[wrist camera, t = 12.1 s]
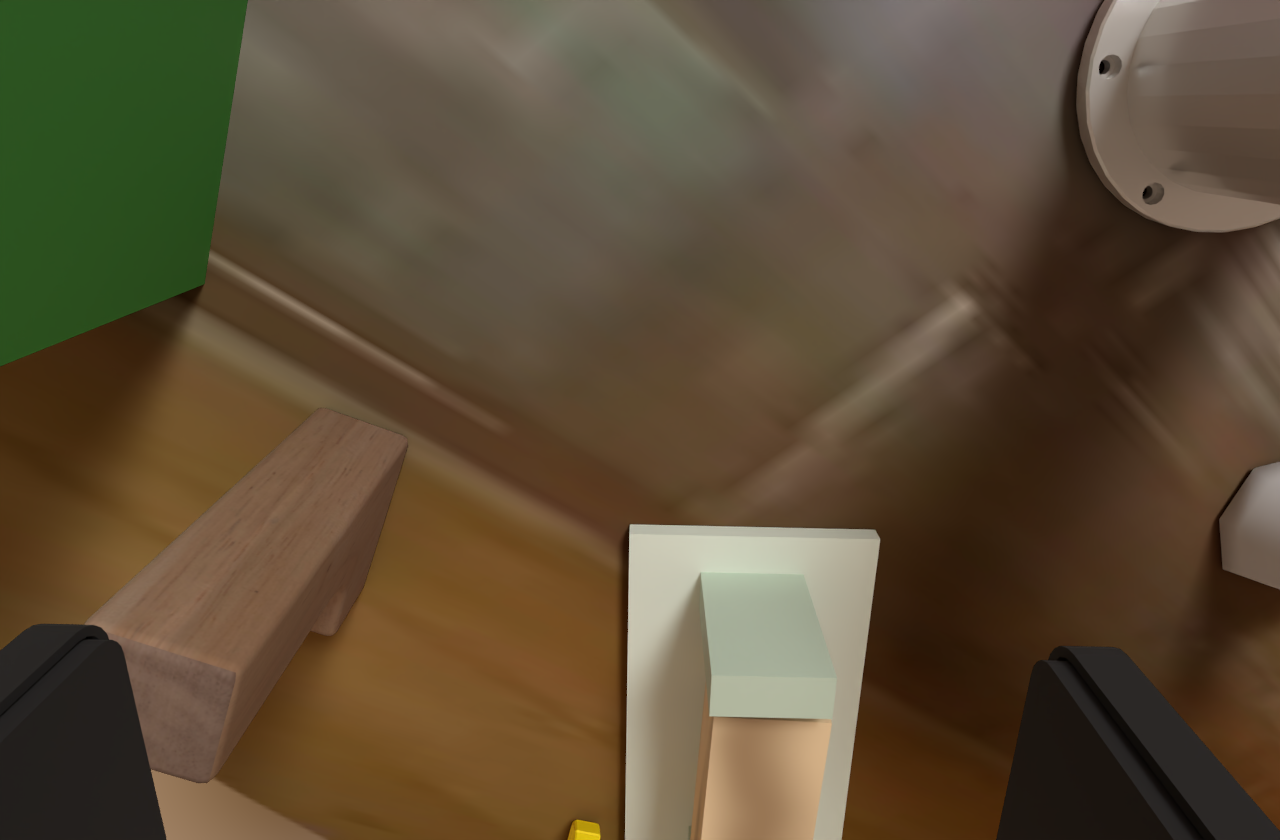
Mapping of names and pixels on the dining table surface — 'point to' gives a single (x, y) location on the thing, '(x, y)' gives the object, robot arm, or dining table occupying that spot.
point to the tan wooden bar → (758, 777)
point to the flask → (1254, 528)
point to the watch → (584, 831)
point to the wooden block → (251, 588)
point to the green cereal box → (108, 157)
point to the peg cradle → (740, 653)
